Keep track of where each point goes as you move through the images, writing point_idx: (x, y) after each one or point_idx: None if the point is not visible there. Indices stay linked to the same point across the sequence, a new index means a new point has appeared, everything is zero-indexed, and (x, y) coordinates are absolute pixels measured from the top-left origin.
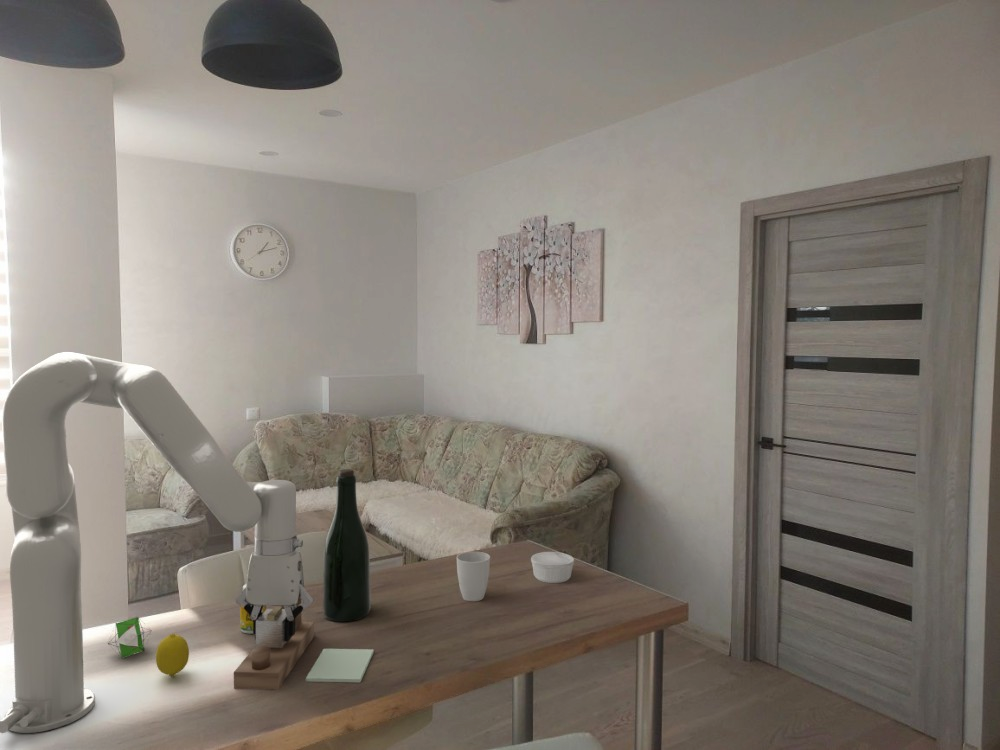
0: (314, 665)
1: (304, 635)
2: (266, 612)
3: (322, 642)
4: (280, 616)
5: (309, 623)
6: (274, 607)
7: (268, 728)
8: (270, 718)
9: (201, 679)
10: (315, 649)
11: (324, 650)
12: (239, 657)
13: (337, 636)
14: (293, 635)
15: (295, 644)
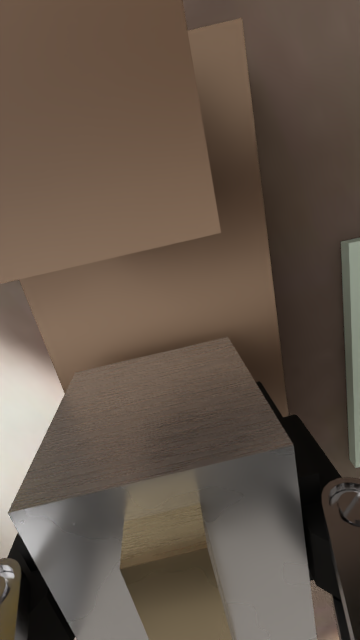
0: (356, 389)
1: (269, 263)
2: (74, 577)
3: (298, 140)
4: (257, 594)
5: (218, 57)
6: (134, 590)
7: (335, 625)
8: (323, 603)
9: (9, 533)
10: (292, 229)
11: (358, 262)
12: (7, 385)
13: (357, 31)
14: (206, 283)
15: (269, 374)
